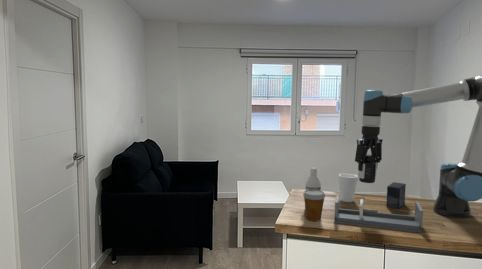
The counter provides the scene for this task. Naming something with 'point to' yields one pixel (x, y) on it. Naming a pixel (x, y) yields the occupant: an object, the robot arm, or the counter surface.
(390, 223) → the tray
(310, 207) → the disposable coffee cup
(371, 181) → the supplement bottle
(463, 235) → the counter surface
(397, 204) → the small box
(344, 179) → the foam cup
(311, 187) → the bath foam
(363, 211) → the pusher
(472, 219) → the counter surface
